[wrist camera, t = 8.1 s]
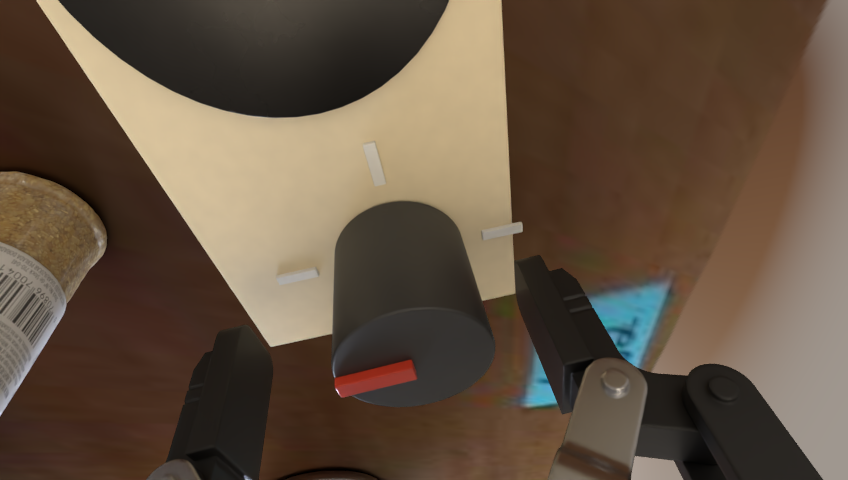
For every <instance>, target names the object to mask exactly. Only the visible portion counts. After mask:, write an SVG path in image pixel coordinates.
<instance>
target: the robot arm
mask: <svg viewBox="0 0 848 480" xmlns="http://www.w3.org/2000/svg"><path fill="white" fill-rule="evenodd" d="M514 272H515V285H516V296H517V301H518V306H519V309H520V312H521V315H522V317H523V320H524V322H525V325H526V327H527V330H528V332H529V335H530V337H531V339H532V342H533V344H534V347H535V349H536V352H537V354H538V356H539V359H540V361H541V364H542V366H543V369H544V371H545V374H546V376H547V378H548V381H549V383H550V386H551V388H552V391H553V393H554V396H555V398H556V400H557V403H558V405H559V408H560V410H561V413H562V414H565V413H570V412H572V414H571V417H570V420H569V424H568V427H567V430H566V433H565V437H564V440H563V443H562V445H561V447H560V448H559V449H558V451H557V453H556V455H555V458H554V461H553V464H552V467H551V470H550V474H549V477H548V480H631V472H632V467H633V462H634V457H635V456H641V457H649V458H658V459H667V460H674V462H675V463H676V465H677V467H678V470H679V472H680V473H681V476H682V478H683V479H684V480H823V479H822V478H821V476H820V475H819V474H818V472H817V471H816V469H815V468H814V467H813V465H812V464H811V463H810V461H809V460H808V458H807V457H806V456H805V454H804V453H803V452H802V450H801V449H800V447H799V446H798V445H797V443H796V442H795V441H794V439H793V438H792V437H791V435H790V434H789V432H788V431H787V430H786V428H785V427H784V426H783V424H782V423H781V421H780V420H779V419H778V417H777V416H776V415H775V413H774V412H773V411H772V409H771V408H770V406H769V405H768V404H767V402H766V401H765V400H764V398H763V397H762V395H761V394H760V393H759V391H758V390H757V389H756V387H755V386H754V385H753V384H752V382H751V381H750V380H749V379H748V378H746V377H745V376H744V375H743V374H741V373H740V372H738V371H736V370H734V369H732V368H730V367H727V366H724V365H719V364H704V365H700V366H698V367H696V368H694V369H693V370H691V372H690V373H689V375H688V376H683V375H670V374H657V373H651V372H647V371H644V370H641V369H639V368H637V367H635V366H634V365H632V364H631V363H629V362H628V361H627V360H625V359H624V358H623V357H622V355H621V354H620V353H619V351H618V350H617V348H616V346H615V345H614V343H613V341H612V339H611V338H610V336H609V334H608V333H607V331H606V329H605V327H604V326H603V324H602V322H601V320H600V319H599V317H598V315H597V314H596V312H595V310H594V308H592V305H591V303H590V302H589V300H588V298H587V296H585V293H584V291H583V290H582V288H581V286H580V284H579V283H578V281H577V279H576V278H574V277H573V276H572V275H570V274H569V273H568V272H566V271H565V270H564V269H562V268H561V269H557V270H552V271H549V270H548V269H547V267H546V265H545V263H544V261H543V259H542V257H541V256H540V255H537V256H533V257H529V258H525V259H520V260H516V261H514ZM272 378H273V363H272V359H271V356H270V354H269V353H268V351H267V350H266V348H265V347H264V346H263V344H262V343H261V341H260V340H259V339H258V337H257V336H256V335H255V333H254V332H253V330H252V329H251V328H250V327H249V326H248V325H243V326H238V327H234V328H230V329H226V330H222V331H220V332H219V333H218V334H217V337H216V340H215V344H214V348H213V351H211V352H207V353H205V354H204V356H203V357H202V359H201V360H200V362H199V363H198V365H197V366H196V367H195V369H194V371H193V374H192V378H191V381H190V384H189V391H187V395H186V398H185V401H184V402H185V405H183V408H182V411H181V415H180V418H179V421H178V425H177V428H176V431H175V435H174V438H173V441H172V445H171V448H170V451H169V455H168V458H167V460H166V463H165V464H163V465H161V466H160V467H158V468H157V469H156V470H155V471H154V472H153V473H152V474H151V475H150V476H149V477H148V478H147V479H146V480H259V473H260V465H261V458H262V451H263V444H264V436H265V429H266V422H267V414H268V407H269V400H270V393H271V385H272ZM285 480H378V479H376V478H374V477H372V476H370V475H366V474H363V473H358V472H352V471H319V472H312V473H306V474H301V475H297V476H294V477H290V478H288V479H285Z"/></svg>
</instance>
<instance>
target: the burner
mask: <svg viewBox="0 0 848 480" xmlns="http://www.w3.org/2000/svg"><path fill="white" fill-rule="evenodd" d="M58 1H59V2H60V3H61V4H62V5H63V7H64V8H65V9H66V10H67V11H68V12H69V13H70V14H71V15H72V16H73V17H74V18H75V19H76V20H77V21H78V22H79V23H80V24H81V25H82V26H83V27H84V28H85V29H86V30H87V31H88V32H89V33H90V34H91V35H92V36H93V37H94V38H95V39H97V40H98V41H99V42H100V43H101V44H103V45H104V46H105V47H106V48H108V49H109V50H110V51H111V52H112V53H114V54H115V55H116V56H117V57H118V58H120V59H121V60H123V61H124V62H125V63H127V64H128V65H130V66H131V67H133V68H134V69H136V70H137V71H139V72H140V73H142V74H143V75H145V76H146V77H148V78H149V79H151V80H153V81H155V82H157V83H158V84H160V85H162V86H164V87H166V88H167V89H169V90H171V91H173V92H175V93H177V94H180V95H182V96H184V97H187V98H189V99H191V100H194V101H196V102H198V103H201V104H204V105H207V106H211V107H214V108H217V109H220V110H223V111H227V112H232V113H237V114H242V115H247V116H256V117H267V118H291V117H302V116H309V115H315V114H321V113H324V112H328V111H331V110H334V109H338V108H341V107H344V106H346V105H348V104H351V103H353V102H355V101H357V100H360V99H362V98H364V97H365V96H367V95H369V94H370V93H372V92H374V91H375V90H377V89H378V88H380V87H382V86H383V85H384V84H385V83H387V82H388V81H389V80H390V79H392V78H393V77H394V76H395V75H397V74H398V73H399V72H400V71H401V70H402V69H403V68H404V67H405V66H406V65H407V64H408V63H409V62H410V61H411V60H412V59H413V58H414V57H415V56H416V55H417V53H418V52H419V50H420V49H421V48H422V46H423V45H424V44H425V42H426V41H427V40H428V38H429V37H430V36H431V34H432V33H433V31H434V29H435V27H436V26H437V24H438V22H439V20H440V18H441V17H442V15H443V13H444V11H445V9H446V7H447V5H448V2H449V0H58Z"/></svg>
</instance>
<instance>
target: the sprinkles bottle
mask: <svg viewBox="0 0 848 480" xmlns="http://www.w3.org/2000/svg"><path fill="white" fill-rule="evenodd" d="M106 245H107V233H106V229H105V227H104V225H103V223H102V221H101V219H100V218H99V216H98V215H97V214H96V213H95V212H94V210H93V209H92V208H91V207H90V206H89V205H88V204H87V203H86V202H85V201H83V200H82V199H81V198H79V197H78V196H77V195H76V194H74V193H73V192H71V191H70V190H68V189H66V188H65V187H63V186H61V185H59V184H57V183H55V182H52V181H49V180H46V179H42V178H39V177H36V176H33V175H29V174H25V173H21V172H17V171H11V172H0V416H1V414H2V412H3V411H4V409H5V408H6V406H7V405H8V403H9V402H10V400H11V398H12V397H13V395H14V394H15V392H16V391H17V389H18V387H19V386H20V384H21V383H22V381H23V379H24V378H25V376H26V375H27V373H28V371H29V370H30V368H31V367H32V365H33V363H34V362H35V360H36V359H37V357H38V355H39V354H40V352H41V350H42V349H43V347H44V346H45V344H46V342H47V341H48V339H49V338H50V336H51V334H52V333H53V331H54V329H55V328H56V326H57V325H58V323H59V321H60V320H61V318H62V316H63V314H64V312H65V309H66V305H67V303H68V302H69V300H70V299H71V297H72V296H73V294H74V292H75V291H76V289H77V288H78V286H79V284H80V282H81V281H82V280H83V278H84V277H85V275H86V274H87V272H88V271H89V269H90V268H91V267H92V266H93V265H94V264H95V263H96V262H97V261H98V260H99V259H100V258H101V257H102V256H103V254H104V252H105V249H106Z"/></svg>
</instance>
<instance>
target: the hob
mask: <svg viewBox="0 0 848 480" xmlns="http://www.w3.org/2000/svg"><path fill="white" fill-rule="evenodd" d="M36 1H37V2H38V4H39V5H40V7H41V8H42V10H43V11H44V13H45V14H46V16H47V17H48V19H49V20H50V22H51V23H52V25H53V26H54V28H55V29H56V31H57V32H58V33H59V35H60V36H61V38H62V39H63V41H64V42H65V44H66V45H67V47H68V48H69V50H70V51H71V53H72V54H73V56H74V57H75V59H76V60H77V62H78V63H79V65H80V66H81V67H82V69H83V70H84V72H85V73H86V75H87V76H88V78H89V79H90V81H91V82H92V84H93V85H94V87H95V88H96V90H97V91H98V93H99V94H100V96H101V97H102V99H103V100H104V101H105V103H106V104H107V106H108V107H109V109H110V110H111V112H112V113H113V115H114V116H115V118H116V119H117V121H118V122H119V124H120V125H121V127H122V128H123V130H124V131H125V133H126V134H127V135H128V137H129V138H130V140H131V141H132V143H133V144H134V146H135V147H136V149H137V150H138V152H139V153H140V155H141V156H142V158H143V159H144V161H145V162H146V164H147V165H148V167H149V168H150V169H151V171H152V172H153V174H154V175H155V177H156V178H157V180H158V181H159V183H160V184H161V186H162V187H163V189H164V190H165V192H166V193H167V195H168V196H169V198H170V199H171V201H172V202H173V203H174V205H175V206H176V208H177V209H178V211H179V212H180V214H181V215H182V217H183V218H184V220H185V221H186V223H187V224H188V226H189V227H190V229H191V230H192V232H193V233H194V235H195V236H196V237H197V239H198V240H199V242H200V243H201V245H202V246H203V248H204V249H205V251H206V252H207V254H208V255H209V257H210V258H211V260H212V261H213V263H214V264H215V266H216V267H217V269H218V270H219V271H220V273H221V274H222V276H223V277H224V279H225V280H226V282H227V283H228V285H229V286H230V288H231V289H232V291H233V292H234V294H235V295H236V297H237V298H238V300H239V301H240V303H241V304H242V306H243V307H244V308H245V310H246V311H247V313H248V314H249V316H250V317H251V319H252V320H253V322H254V323H255V325H256V326H257V328H258V329H259V331H260V332H261V334H262V335H263V337H264V338H265V340H266V341H267V342H268V344H269V345H270V347H273V346H278V345H282V344H287V343H292V342H296V341H301V340H305V339H310V338H314V337H319V336H324V335H328V334H332V325H333V290H334V255H335V246H336V243H337V240H338V237H339V236H340V234H341V232H342V231H343V229H344V228H345V227H346V225H347V224H348V223H349V222H350V221H351V220H352V219H354V218H355V217H356V216H357V215H359V214H360V213H362V212H364V211H366V210H368V209H370V208H372V207H374V206H378V205H381V204H385V203H390V202H398V201H411V202H418V203H422V204H426V205H429V206H432V207H434V208H436V209H438V210H440V211H442V212H443V213H445V214H446V215H447V216H449V217H450V218H451V219H452V220H453V221H454V223H455V224H456V226H457V227H458V229H459V231H460V233H461V236H462V239H463V242H464V246H465V249H466V252H467V255H468V258H469V261H470V264H471V268H472V271H473V274H474V277H475V280H476V283H477V286H478V290H479V293H480V296H481V299H482V301H483V300H488V299H492V298H497V297H502V296H506V295H511V294H514V293H515V273H514V253H513V234H515V233H520V232H523V225H522V222H516V223H512V211H511V190H510V169H509V148H508V127H507V106H506V85H505V64H504V44H503V23H502V2H501V0H449V2H448V5H447V7H446V9H445V11H444V13H443V15H442V17H441V18H440V20H439V22H438V24H437V26H436V27H435V29H434V31H433V33H432V34H431V36H430V37H429V38H428V40H427V41H426V42H425V44H424V45H423V46H422V48H421V49H420V50H419V52H418V53H417V55H416V56H415V57H414V58H413V59H412V60H411V61H410V62H409V63H408V64H407V65H406V66H405V67H404V68H403V69H402V70H401V71H400V72H399V73H398V74H397V75H395V76H394V77H393V78H392V79H390V80H389V81H388V82H387V83H385V84H384V85H383V86H382V87H380V88H378V89H377V90H375V91H374V92H372V93H370V94H369V95H367V96H365V97H364V98H362V99H360V100H357V101H355V102H353V103H351V104H348V105H346V106H344V107H341V108H338V109H334V110H331V111H328V112H324V113H321V114H315V115H309V116H302V117H291V118H267V117H256V116H247V115H242V114H237V113H232V112H227V111H223V110H220V109H217V108H214V107H211V106H207V105H204V104H201V103H198V102H196V101H194V100H191V99H189V98H187V97H184V96H182V95H180V94H177V93H175V92H173V91H171V90H169V89H167V88H166V87H164V86H162V85H160V84H158V83H157V82H155V81H153V80H151V79H149V78H148V77H146V76H145V75H143V74H142V73H140V72H139V71H137V70H136V69H134V68H133V67H131V66H130V65H128V64H127V63H125V62H124V61H123V60H121V59H120V58H118V57H117V56H116V55H115V54H114V53H112V52H111V51H110V50H109V49H108V48H106V47H105V46H104V45H103V44H101V43H100V42H99V41H98V40H97V39H95V38H94V37H93V36H92V35H91V34H90V33H89V32H88V31H87V30H86V29H85V28H84V27H83V26H82V25H81V24H80V23H79V22H78V21H77V20H76V19H75V18H74V17H73V16H72V15H71V14H70V13H69V12H68V11H67V10H66V9H65V8H64V7H63V5H62V4H61V3H60V2H59V1H58V0H36Z"/></svg>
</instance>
